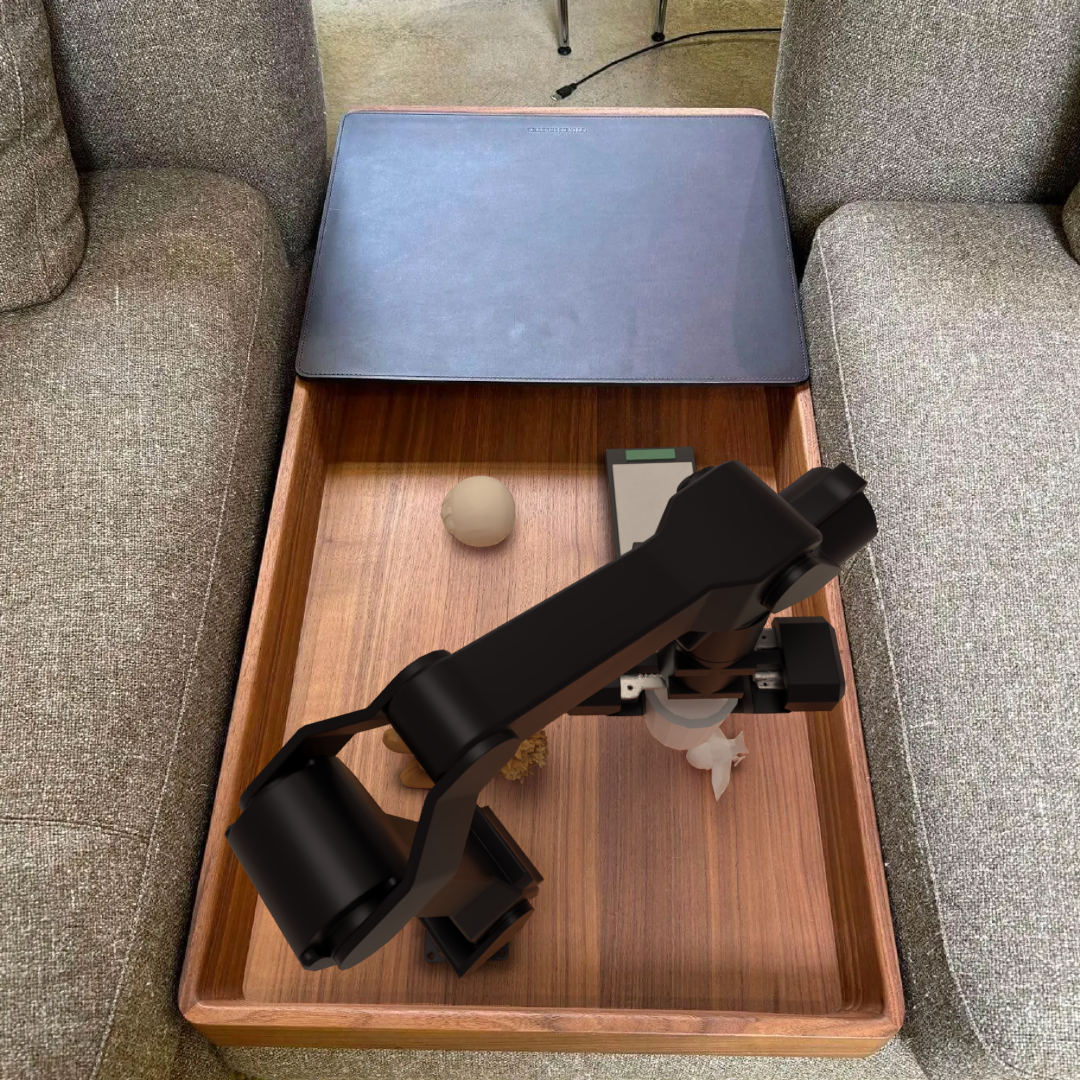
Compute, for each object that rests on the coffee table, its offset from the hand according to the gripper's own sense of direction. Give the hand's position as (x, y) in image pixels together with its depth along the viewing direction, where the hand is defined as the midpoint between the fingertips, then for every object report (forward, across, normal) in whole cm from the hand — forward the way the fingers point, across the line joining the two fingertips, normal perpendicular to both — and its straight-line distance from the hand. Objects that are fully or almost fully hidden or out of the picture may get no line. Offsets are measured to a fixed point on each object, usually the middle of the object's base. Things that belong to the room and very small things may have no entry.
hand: (682, 707), depth 67 cm
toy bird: (+11, -4, +1) cm, 12 cm away
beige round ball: (+11, +17, -23) cm, 31 cm away
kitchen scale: (+11, -1, -23) cm, 25 cm away
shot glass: (+2, 0, 0) cm, 2 cm away
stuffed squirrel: (+11, +17, -1) cm, 20 cm away
